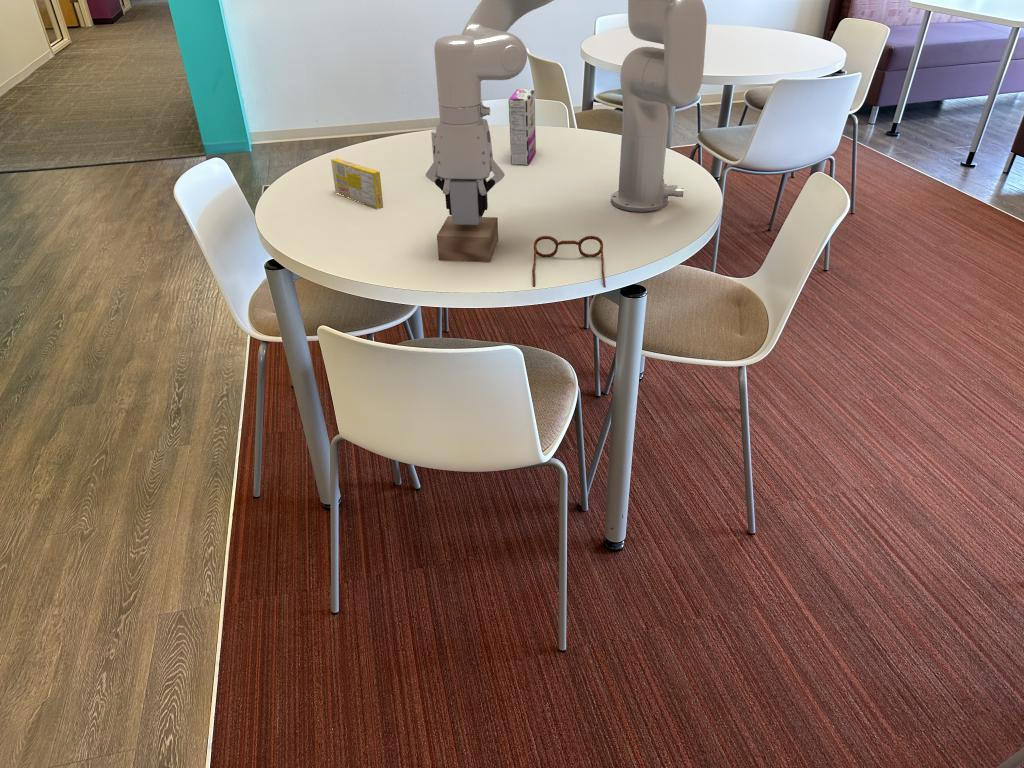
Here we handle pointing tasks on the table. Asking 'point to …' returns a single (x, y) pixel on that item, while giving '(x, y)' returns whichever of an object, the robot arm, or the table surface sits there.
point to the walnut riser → (468, 240)
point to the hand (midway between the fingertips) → (467, 212)
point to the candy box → (357, 182)
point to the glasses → (568, 243)
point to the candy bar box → (522, 126)
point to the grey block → (464, 202)
